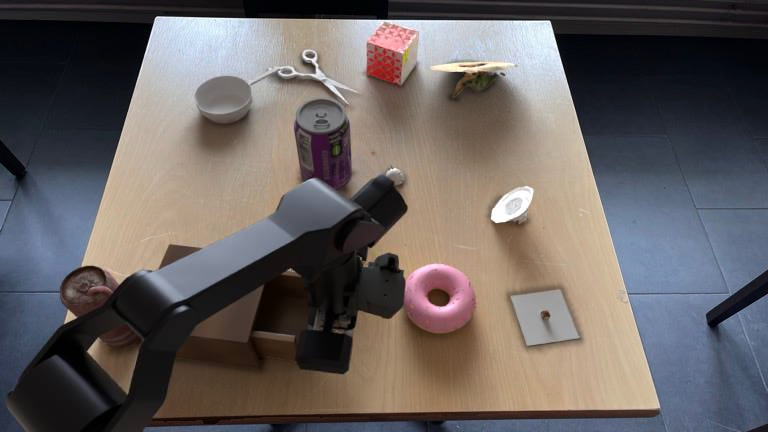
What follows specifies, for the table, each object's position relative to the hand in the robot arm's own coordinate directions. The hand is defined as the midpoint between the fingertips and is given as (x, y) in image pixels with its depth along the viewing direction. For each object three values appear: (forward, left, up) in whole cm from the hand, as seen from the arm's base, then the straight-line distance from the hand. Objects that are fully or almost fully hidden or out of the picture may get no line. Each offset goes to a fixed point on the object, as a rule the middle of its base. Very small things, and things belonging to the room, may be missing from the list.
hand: (338, 322), depth 71 cm
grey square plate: (+7, -30, -5) cm, 31 cm away
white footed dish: (+25, -25, -5) cm, 35 cm away
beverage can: (+29, +7, -5) cm, 30 cm away
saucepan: (+46, +27, -5) cm, 54 cm away
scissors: (+54, +13, -4) cm, 56 cm away
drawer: (0, +7, -4) cm, 7 cm away
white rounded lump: (+30, -5, -5) cm, 31 cm away
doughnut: (+7, -14, -5) cm, 16 cm away
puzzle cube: (+60, -1, -5) cm, 60 cm away
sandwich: (+58, -17, -5) cm, 60 cm away
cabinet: (0, +17, -4) cm, 18 cm away
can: (-3, +30, -5) cm, 31 cm away
